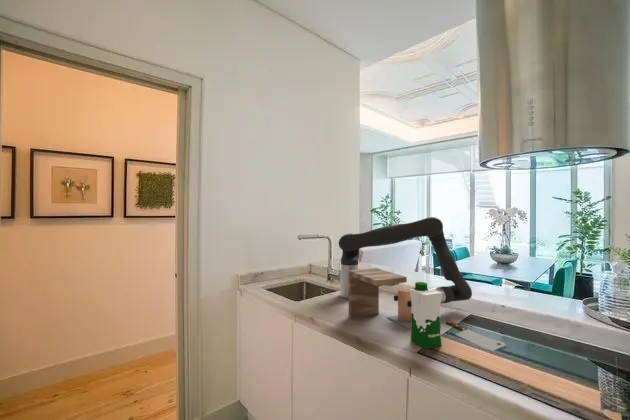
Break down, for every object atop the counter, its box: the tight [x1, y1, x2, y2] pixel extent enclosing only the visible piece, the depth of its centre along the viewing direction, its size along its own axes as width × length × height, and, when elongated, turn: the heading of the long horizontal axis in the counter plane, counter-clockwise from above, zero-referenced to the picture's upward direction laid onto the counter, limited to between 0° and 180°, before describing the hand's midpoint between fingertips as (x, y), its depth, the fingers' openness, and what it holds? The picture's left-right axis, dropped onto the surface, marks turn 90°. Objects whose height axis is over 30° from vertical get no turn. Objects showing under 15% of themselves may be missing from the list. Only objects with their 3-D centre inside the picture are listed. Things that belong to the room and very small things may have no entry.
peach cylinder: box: [397, 288, 412, 323], centre depth 120 cm, size 5×5×12 cm
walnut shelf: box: [348, 267, 408, 320], centre depth 118 cm, size 20×14×20 cm
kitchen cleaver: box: [445, 320, 507, 352], centre depth 107 cm, size 24×1×10 cm
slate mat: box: [387, 314, 412, 329], centre depth 120 cm, size 12×8×1 cm, turn 23°
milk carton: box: [408, 281, 443, 350], centre depth 100 cm, size 9×9×20 cm
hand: (401, 301), depth 120 cm, fingers open, 8 cm apart
